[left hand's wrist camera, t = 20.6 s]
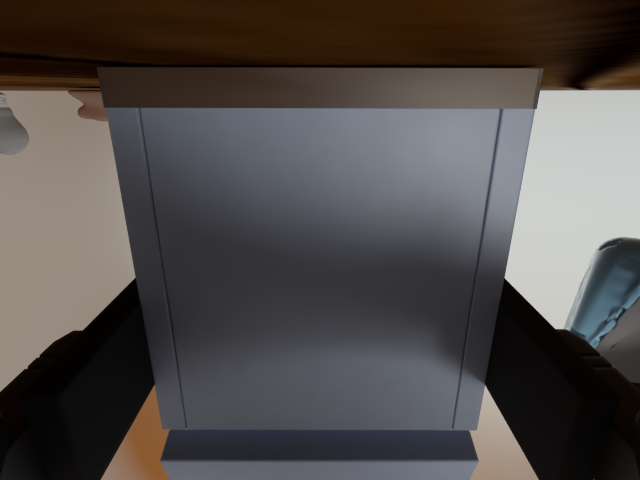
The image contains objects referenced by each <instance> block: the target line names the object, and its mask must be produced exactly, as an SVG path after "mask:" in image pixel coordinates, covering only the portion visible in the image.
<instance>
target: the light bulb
mask: <svg viewBox="0 0 640 480" xmlns="http://www.w3.org/2000/svg"><path fill="white" fill-rule="evenodd" d="M6 102H7V101H6V100H5V94H3V93H0V153H2V154H7V155H12V154H17V153H19V152H21V151H23V150H24V149H25V148H26V146H27V144H28V141H29V136H28V133H27V131H26V129H25V128H24V127H23V126H22V125H21V123H20V122H19V121H18V120H17V119H16V118H15V117H14V115H13V112H12V110H11V109H10V108H9V106H8V104H7V103H6Z"/></svg>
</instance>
